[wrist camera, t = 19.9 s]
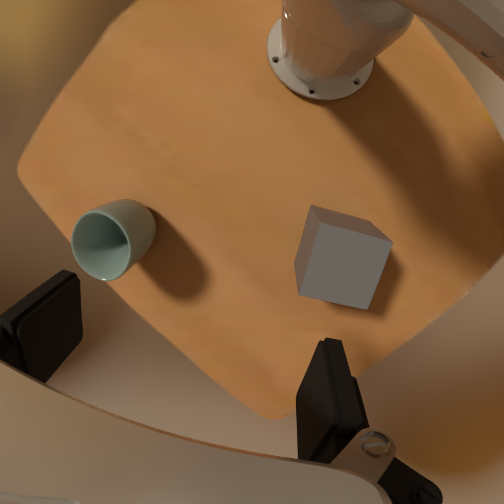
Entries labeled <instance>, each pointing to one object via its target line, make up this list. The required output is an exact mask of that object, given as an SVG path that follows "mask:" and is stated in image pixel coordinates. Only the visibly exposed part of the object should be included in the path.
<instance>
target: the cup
mask: <svg viewBox="0 0 504 504" xmlns="http://www.w3.org/2000/svg"><path fill="white" fill-rule="evenodd" d="M155 234H156V222H155V218H154V216H153V214H152V213H151V212H150V210H149V209H148V208H147V207H146V206H145V205H143V204H141V203H140V202H137V201H135V200H130V199H121V200H115V201H112V202H109V203H106V204H103V205H101V206H98V207H96V208H94V209H91V210H89V211H87V212H86V213H85V214H83V215H82V216H81V217H80V218H79V219H78V221H77V222H76V224H75V226H74V229H73V232H72V237H71V246H72V252H73V254H74V257H75V259H76V260H77V262H78V264H79V265H80V266H81V267H82V269H84V270H85V271H86V272H87V273H88V274H90V275H91V276H92V277H94V278H97V279H99V280H102V281H112V280H116V279H117V278H119V277H121V276H122V275H124V274H125V273H126V272H127V271H128V270H129V269H130V268H131V267H132V266H134V265H135V264H136V263H137V262H138V261H139V260H140V259H141V258H142V257H143V256H144V254H145V253H146V252H147V250H148V249H149V248H150V246H151V244H152V242H153V240H154V237H155Z"/></svg>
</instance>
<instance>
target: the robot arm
mask: <svg viewBox="0 0 504 504" xmlns="http://www.w3.org/2000/svg"><path fill="white" fill-rule="evenodd" d="M415 14H416V15H417V16H419V17H421V18H424V19H425V20H427V21H428V22H430V23H431V24H433V25H435V26H436V27H437V28H439V29H440V30H441V31H443V32H444V33H446V34H447V35H448V36H450V37H451V38H453V39H454V40H455V41H457V42H458V43H459V44H460V45H462V46H463V47H464V48H465V49H467V50H468V51H469V52H470V53H472V54H473V55H474V56H475V57H476V58H478V59H479V60H480V61H481V62H482V63H483V64H485V65H486V66H487V67H488V68H490V69H491V70H492V71H493V72H494V73H495V74H496V75H497V76H499V77H500V78H501V79H502V80H503V81H504V0H282V12H281V17H280V18H279V19H278V20H277V21H276V22H275V24H274V25H273V27H272V28H271V30H270V33H269V36H268V40H267V56H268V61H269V63H270V66H271V68H272V70H273V72H274V73H275V75H276V76H277V78H278V79H279V80H280V81H281V82H282V83H283V84H284V85H285V86H286V87H288V88H289V89H290V90H292V91H293V92H295V93H297V94H299V95H301V96H304V97H307V98H310V99H315V100H322V101H324V100H336V99H341V98H344V97H346V96H348V95H351V94H352V93H354V92H356V91H357V90H358V89H359V88H361V87H362V86H363V85H364V83H365V82H366V81H367V79H368V78H369V76H370V74H371V71H372V68H373V63H374V58H375V57H377V56H378V55H379V54H380V53H381V52H383V51H384V50H385V49H386V48H388V47H389V46H390V45H391V44H392V43H394V42H395V41H396V40H397V39H398V38H399V37H401V36H402V35H403V34H404V33H405V32H406V30H407V29H408V28H409V26H410V24H411V22H412V20H413V18H414V15H415ZM275 60H277V61H278V63H274V61H275ZM354 81H356V82H357V85H355V84H354ZM310 90H312V91H313V92H314V93H313V94H310V93H309V91H310ZM82 337H83V329H82V315H81V295H80V280H79V279H78V278H77V275H76V274H75V273H73V272H70V271H67V270H61V271H60V272H59V273H57V274H56V275H54V276H53V277H51V278H50V279H49V280H47V281H46V282H45V283H43V284H42V285H40V286H39V287H37V288H36V289H35V290H33V291H32V292H31V293H29V294H28V295H27V296H25V297H24V298H22V299H21V300H20V301H18V302H17V303H16V304H15V305H13V306H12V307H11V308H9V309H8V310H7V311H6V312H4V313H3V314H2V315H0V504H442V502H443V499H442V498H443V497H442V493H441V491H440V489H439V488H438V487H437V486H436V485H435V484H434V483H433V482H431V481H430V480H428V479H427V478H425V477H424V476H422V475H420V474H419V473H417V472H416V471H415V470H413V469H411V468H410V467H409V466H407V465H406V464H404V463H403V462H401V461H400V460H398V459H397V458H396V457H394V456H395V454H396V451H397V450H396V449H397V447H396V443H395V441H394V439H393V438H392V437H391V436H390V435H389V434H388V433H386V432H385V431H382V430H381V429H377V428H369V424H368V420H367V416H366V412H365V408H364V405H363V401H362V397H361V394H360V390H359V387H358V383H357V380H356V378H355V377H352V376H351V373H350V369H349V365H348V362H347V358H346V355H345V351H344V348H343V344H342V341H341V340H337V339H332V338H325V340H324V341H321V340H320V341H319V343H318V345H317V347H316V350H315V352H314V355H313V357H312V359H311V362H310V364H309V366H308V369H307V371H306V373H305V376H304V378H303V380H302V383H301V385H300V387H299V389H298V392H297V395H296V417H297V444H298V459H294V458H287V457H280V456H273V455H267V454H262V453H256V452H251V451H246V450H240V449H235V448H230V447H225V446H221V445H216V444H211V443H208V442H203V441H199V440H195V439H192V438H188V437H184V436H181V435H177V434H174V433H170V432H166V431H163V430H160V429H156V428H153V427H150V426H147V425H144V424H141V423H138V422H135V421H133V420H129V419H127V418H124V417H121V416H119V415H116V414H113V413H111V412H108V411H106V410H103V409H101V408H98V407H96V406H93V405H91V404H88V403H86V402H84V401H81V400H79V399H77V398H74V397H72V396H70V395H68V394H65V393H63V392H61V391H59V390H57V389H55V388H53V387H51V386H49V385H47V384H45V383H46V382H47V380H48V379H49V378H50V377H51V376H52V374H53V373H54V372H55V371H56V370H57V369H58V367H59V366H60V365H61V364H62V363H63V361H64V360H65V359H66V358H67V357H68V355H69V354H70V353H71V352H72V351H73V350H74V349H75V347H76V346H77V345H78V344H79V343H80V342H81V340H82Z"/></svg>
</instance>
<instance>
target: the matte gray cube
mask: <svg viewBox="0 0 504 504" xmlns="http://www.w3.org/2000/svg"><path fill="white" fill-rule="evenodd" d="M392 244H393V242H392V241H391V240H390V239H389V238H388V237H387V236H386V235H384V234H383V233H382V232H381V231H380V230H379V229H378V228H377V227H375V226H374V225H373V224H372V223H371V222H370V221H367V220H364V219H360V218H357V217H353V216H350V215H346V214H343V213H339V212H335V211H332V210H328V209H324V208H321V207H317V206H313V205H311V206H310V209H309V213H308V217H307V220H306V224H305V228H304V231H303V235H302V238H301V242H300V245H299V249H298V252H297V256H296V259H295V262H294V266H295V273H296V280H297V288H298V295H301V296H305V297H310V298H314V299H319V300H323V301H328V302H332V303H337V304H342V305H346V306H351V307H356V308H360V309H365V310H367V309H368V307H369V304H370V302H371V299H372V297H373V295H374V292H375V290H376V287H377V284H378V282H379V279H380V277H381V274H382V271H383V269H384V266H385V263H386V261H387V258H388V255H389V252H390V250H391V247H392Z"/></svg>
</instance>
